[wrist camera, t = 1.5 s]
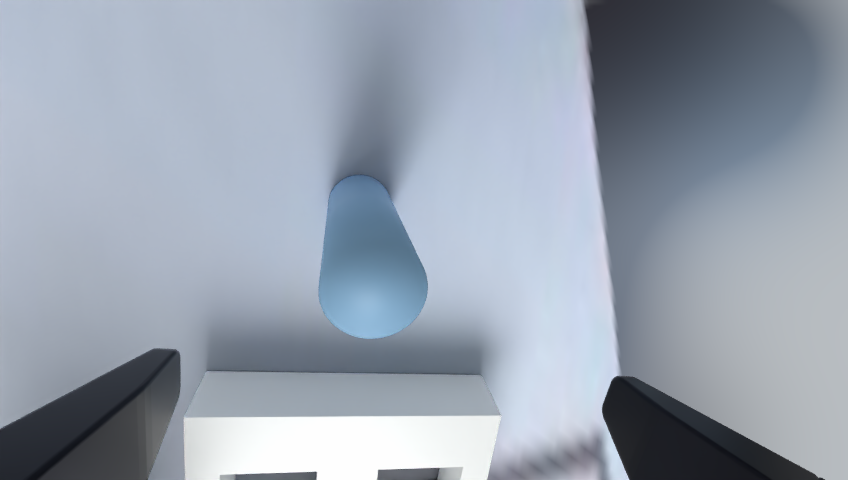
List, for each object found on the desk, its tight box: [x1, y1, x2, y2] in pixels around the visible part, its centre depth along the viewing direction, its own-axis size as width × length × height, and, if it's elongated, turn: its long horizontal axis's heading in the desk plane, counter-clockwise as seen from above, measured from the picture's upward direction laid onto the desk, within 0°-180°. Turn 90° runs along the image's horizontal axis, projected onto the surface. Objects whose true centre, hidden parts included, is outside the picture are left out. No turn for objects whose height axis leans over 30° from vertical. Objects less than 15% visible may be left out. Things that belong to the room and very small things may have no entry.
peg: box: [319, 175, 428, 339], centre depth 17 cm, size 3×3×10 cm
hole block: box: [184, 371, 501, 480], centre depth 24 cm, size 15×11×4 cm
